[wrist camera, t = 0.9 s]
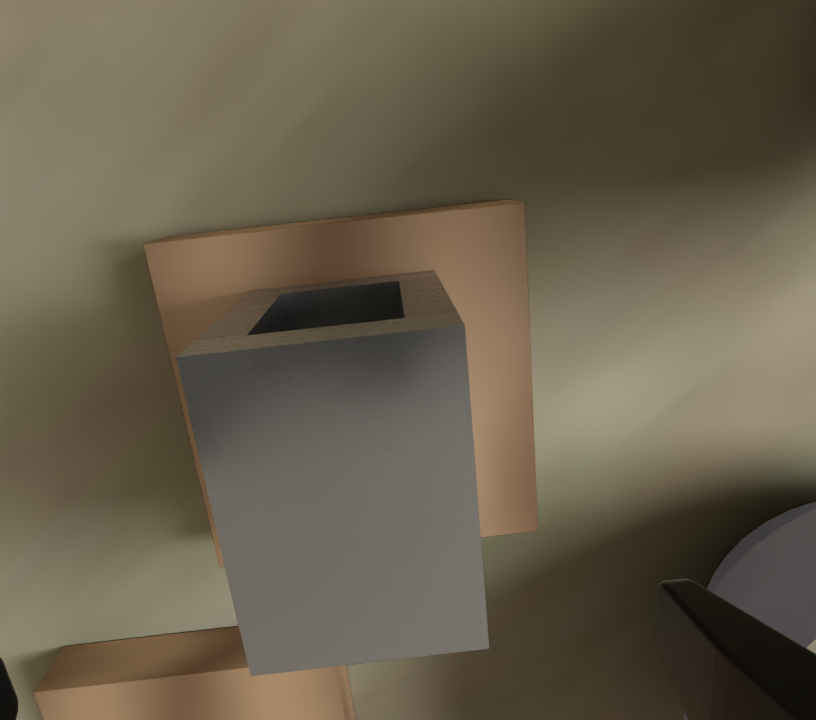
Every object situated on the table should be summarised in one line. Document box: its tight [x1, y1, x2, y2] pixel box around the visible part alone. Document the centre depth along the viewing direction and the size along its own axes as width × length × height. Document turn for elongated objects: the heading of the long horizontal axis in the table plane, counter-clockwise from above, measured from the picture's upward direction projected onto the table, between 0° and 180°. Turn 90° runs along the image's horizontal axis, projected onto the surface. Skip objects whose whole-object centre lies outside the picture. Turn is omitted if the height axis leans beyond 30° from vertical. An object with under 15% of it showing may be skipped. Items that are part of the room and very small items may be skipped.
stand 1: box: [143, 200, 538, 567], centre depth 18 cm, size 10×10×2 cm
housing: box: [176, 270, 489, 676], centre depth 14 cm, size 5×7×6 cm
